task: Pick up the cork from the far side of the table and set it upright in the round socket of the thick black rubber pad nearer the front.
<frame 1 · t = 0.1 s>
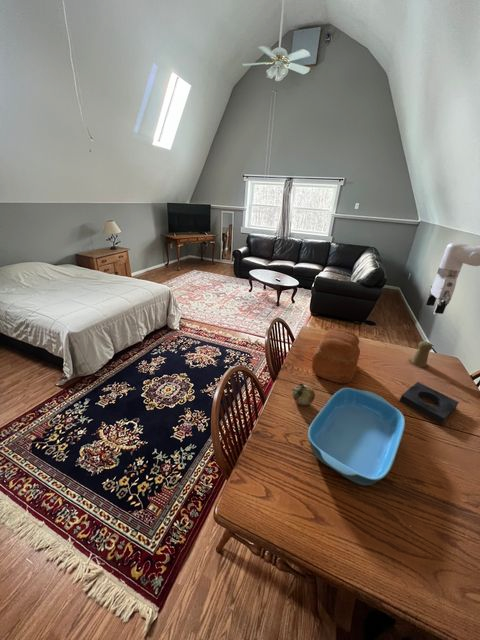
hand: (434, 309, 123), 24 cm above the table, tool pointing down, fingers open, 9 cm apart
cork: (418, 363, 126), on the table
socket pad: (427, 404, 100), on the table
onion: (301, 402, 99), on the table
bread: (333, 368, 119), on the table
casserole dish: (353, 441, 84), on the table
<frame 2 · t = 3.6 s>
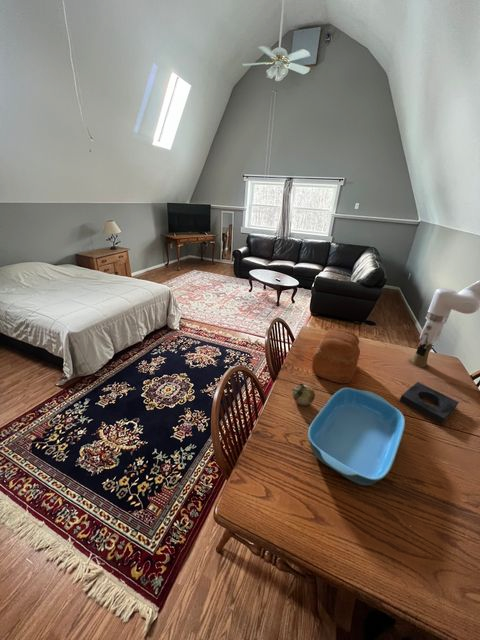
hand: (422, 352, 123), 6 cm above the table, tool pointing down, fingers closed on cork, 5 cm apart
cork: (418, 363, 126), on the table, touching gripper
everything else where it was.
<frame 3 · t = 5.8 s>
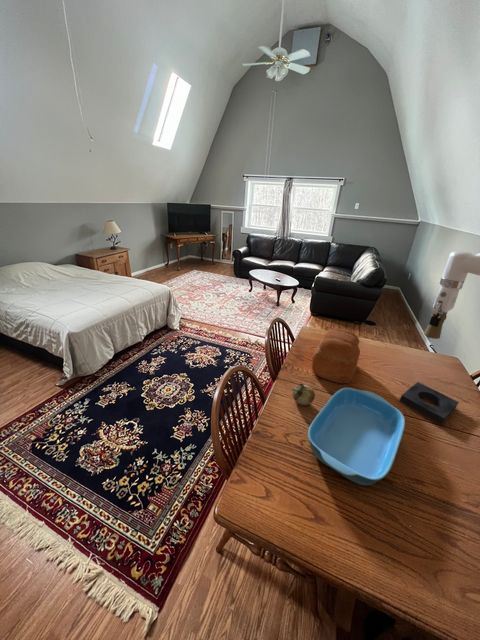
hand: (436, 323, 115), 21 cm above the table, tool pointing down, fingers closed on cork, 5 cm apart
cork: (431, 335, 118), point 15 cm above the table, touching gripper
everything else where it was.
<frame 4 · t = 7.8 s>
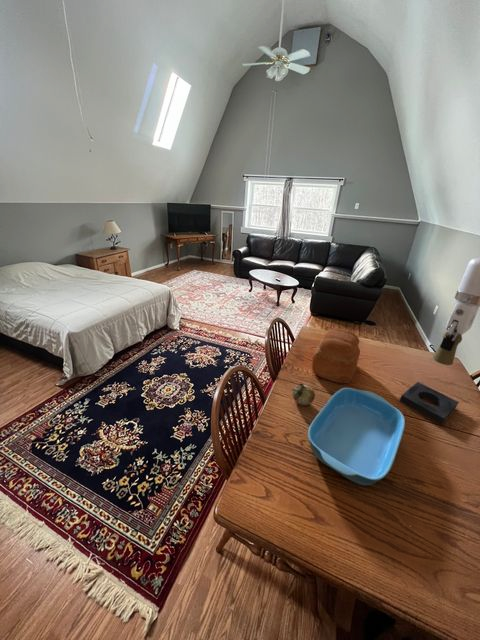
hand: (448, 346, 93), 23 cm above the table, tool pointing down, fingers closed on cork, 5 cm apart
cork: (442, 360, 96), point 17 cm above the table, touching gripper
everything else where it was.
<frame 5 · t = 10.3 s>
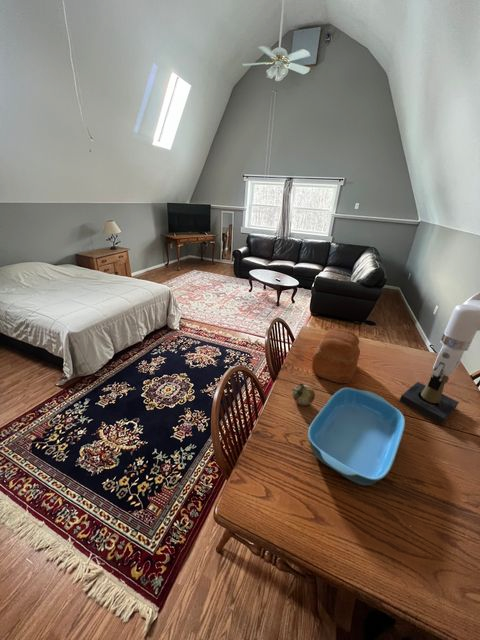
hand: (436, 384, 96), 9 cm above the table, tool pointing down, fingers closed on cork, 5 cm apart
cork: (430, 397, 99), point 3 cm above the table, touching gripper
everything else where it was.
when the fingers open (6 cm above the table, at t = 11.8 s): cork stays where it is, resting in socket pad.
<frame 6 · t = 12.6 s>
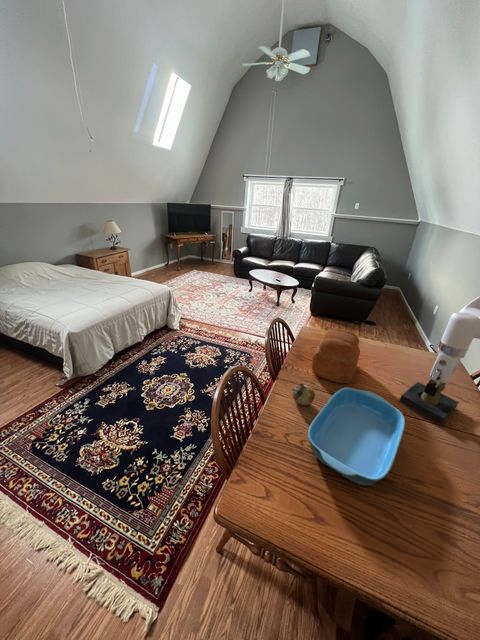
hand: (434, 388, 97), 7 cm above the table, tool pointing down, fingers open, 9 cm apart
cork: (426, 404, 100), resting in socket pad
everything else where it was.
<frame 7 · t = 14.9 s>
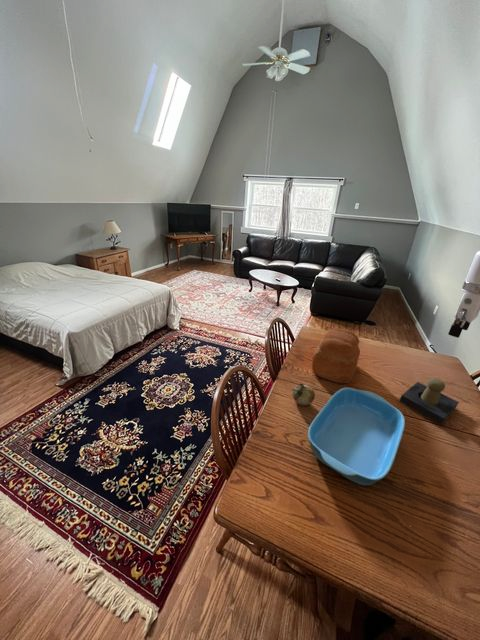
hand: (457, 332, 98), 26 cm above the table, tool pointing down, fingers open, 9 cm apart
nothing on the table moved.
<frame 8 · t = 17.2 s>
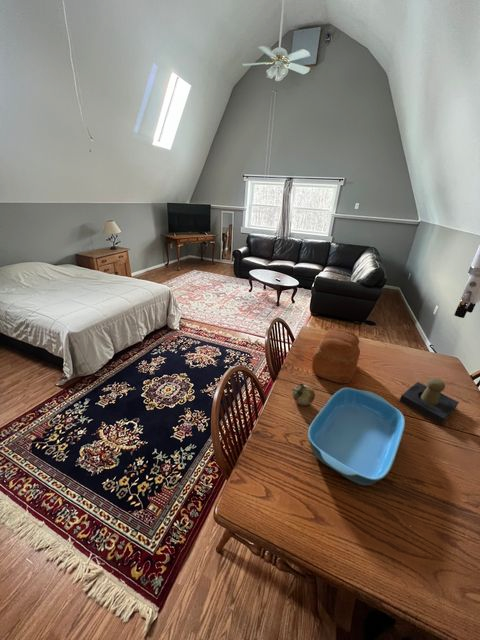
hand: (463, 314, 108), 28 cm above the table, tool pointing down, fingers open, 9 cm apart
nothing on the table moved.
at the end: cork 0.1 cm off-centre in the socket pad, point 0.0 cm above the socket pad's base; cork tilted 0°; the gripper is holding nothing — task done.
